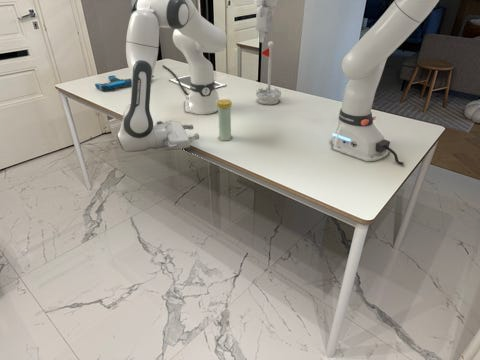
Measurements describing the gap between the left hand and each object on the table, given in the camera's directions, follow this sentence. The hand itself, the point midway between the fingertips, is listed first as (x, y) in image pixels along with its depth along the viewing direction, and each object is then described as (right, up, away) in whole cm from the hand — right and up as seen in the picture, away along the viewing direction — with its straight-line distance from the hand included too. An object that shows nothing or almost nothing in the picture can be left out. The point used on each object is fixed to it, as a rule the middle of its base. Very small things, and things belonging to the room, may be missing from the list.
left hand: (195, 131), depth 138 cm
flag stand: (+33, +22, +43) cm, 59 cm away
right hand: (+27, +35, -6) cm, 45 cm away
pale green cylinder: (+12, -2, +6) cm, 13 cm away
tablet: (-8, +40, +70) cm, 81 cm away
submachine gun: (-53, +40, +71) cm, 97 cm away
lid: (+12, +11, -2) cm, 16 cm away
